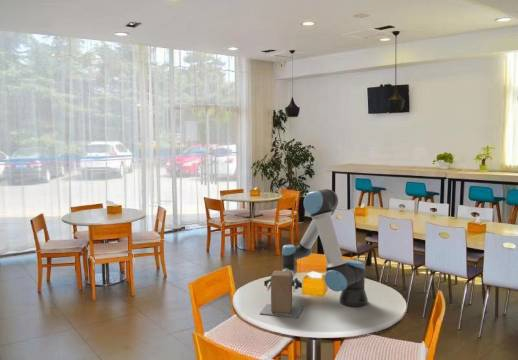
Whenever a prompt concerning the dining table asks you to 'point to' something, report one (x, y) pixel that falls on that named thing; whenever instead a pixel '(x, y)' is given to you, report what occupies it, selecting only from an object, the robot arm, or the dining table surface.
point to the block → (281, 292)
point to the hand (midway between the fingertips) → (280, 289)
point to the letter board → (293, 313)
